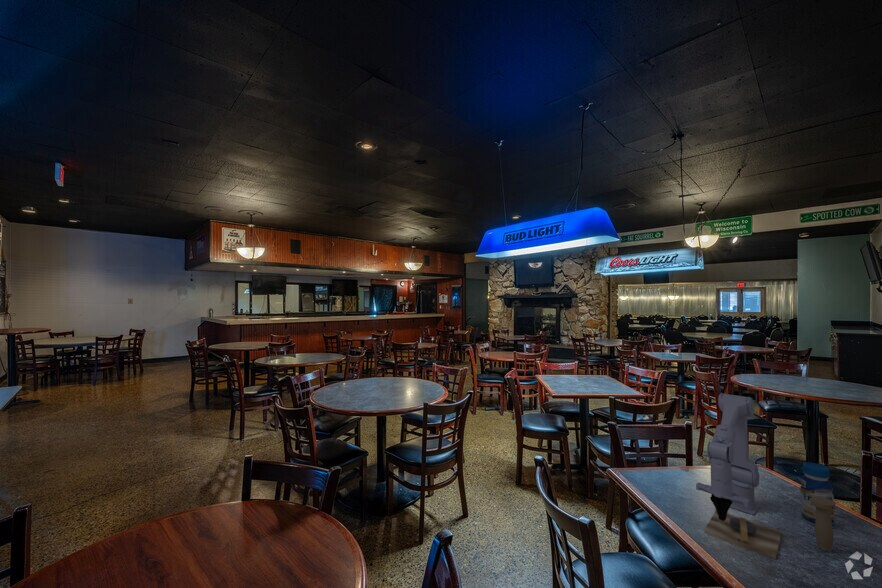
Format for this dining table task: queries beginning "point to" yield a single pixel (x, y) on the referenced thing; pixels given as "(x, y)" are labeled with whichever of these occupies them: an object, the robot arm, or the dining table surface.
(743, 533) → the lever with round base
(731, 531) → the post board
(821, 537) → the handle
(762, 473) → the dining table surface
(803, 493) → the beverage bottle
